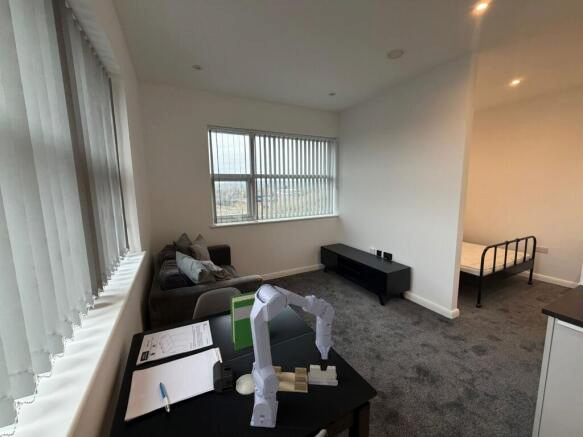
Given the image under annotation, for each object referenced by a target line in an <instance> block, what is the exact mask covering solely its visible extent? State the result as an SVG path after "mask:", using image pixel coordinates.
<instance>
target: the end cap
mask: <svg viewBox="0 0 583 437" xmlns="http://www.w3.org/2000/svg"><path fill="white" fill-rule="evenodd" d="M231 366H232V361H231V360H226V361H222V362H221V359H219V360H217V361H215V363H214V364H213V366H212V387H213V390H214V391H215V392H217V393H220V394H221V393H227V392H230V391H232V390H233V389H234V387H233V386H234V383H233V382H234V381H233V380H234V379H233V377H234V376H233V370H232V369H231V368H232V367H231Z"/></svg>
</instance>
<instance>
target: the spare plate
mask: <svg viewBox="0 0 583 437" xmlns="http://www.w3.org/2000/svg"><path fill="white" fill-rule="evenodd" d="M235 390H236V391H237V392H238V393H239V394H240V395H251V394H253V393H255V380H254V379H253V378H252V373H248V374H247V373H246V374H244V375H241V376H240V377H239V378H238V379H237V380H236V382H235Z"/></svg>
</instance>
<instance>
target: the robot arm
mask: <svg viewBox="0 0 583 437" xmlns="http://www.w3.org/2000/svg"><path fill="white" fill-rule="evenodd" d="M255 292H256V291H255ZM289 304H291V305H294V306H298V307H302V308H301V309H302V310H303V311H304V312H306V313H308V314H312V315H315V316H316V323H315V324H316V325H315V326H316V331H315V345H316V347H317V348H318V352H316V359H317V361H318V362H319V366H320V369H321V371H326V370H327V367H328V366H329V364H330V362H331V361H332V354H331V353H330V354H329V351H330V349H331V347H332V346H334V345H335V342H334V340H332V323H333V318H334V316H335V313H336V310H335V308H334V307H333V305H332V304H331V303H329V302H328V301H325V299H322V298H317V296H316V295H314V294H312V295H306V296H302V295H299V294H297V293H295V292H292V291H290V290H288V289H285V288H282V287H279V286H276V285H271V284H267V283H266V284H262V285H261V286H260V287H259V288H258V289H257V292H256V293H255V302H254V305H253V308H252V311H251V314H250V321H251V329H252V337H253V351H254V360H255V361H254V362H252V371H251V374H252V378H253V379H254V380H255V392H254V406H253V411H252V416H251V421H250V426H251V427H260V428H261V427H263V428H264V427H265V428H275V427H276V421H277V412H278V405H279V401H278V400H277V392H279V391H278V389H279V385H280V383H279V380H278V379H277V378H276V373H275V370H274V368H273V366H274V365H273V362H272V353H271V352H272V351H271V344H270V341H269V333H268V324H267V322H268V321H271V320H273V318H275V317H276V316H277V315H278V314H279V313H281V312H282V311H283V310H284V309H286V308H288V305H289Z"/></svg>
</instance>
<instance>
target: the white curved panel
mask: <svg viewBox="0 0 583 437" xmlns="http://www.w3.org/2000/svg"><path fill="white" fill-rule="evenodd" d="M309 372H310V379H318V381H327V380H335V374H337V372H336V366H335V365H331V366H330V365H328V367H327V370H326V371H321V369H320V364H319V365H317V364H314V365H313V364H310V366H309Z"/></svg>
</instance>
